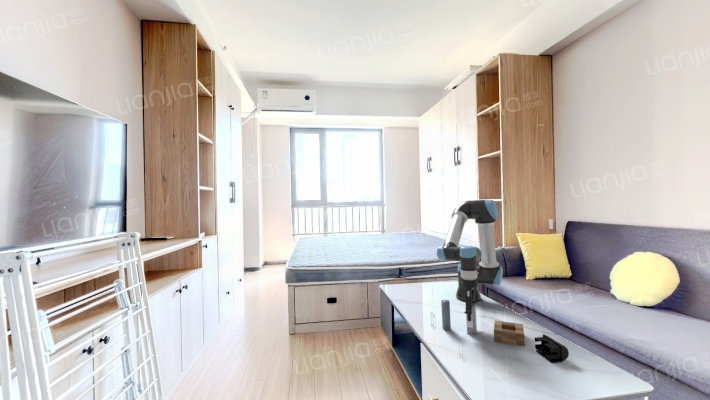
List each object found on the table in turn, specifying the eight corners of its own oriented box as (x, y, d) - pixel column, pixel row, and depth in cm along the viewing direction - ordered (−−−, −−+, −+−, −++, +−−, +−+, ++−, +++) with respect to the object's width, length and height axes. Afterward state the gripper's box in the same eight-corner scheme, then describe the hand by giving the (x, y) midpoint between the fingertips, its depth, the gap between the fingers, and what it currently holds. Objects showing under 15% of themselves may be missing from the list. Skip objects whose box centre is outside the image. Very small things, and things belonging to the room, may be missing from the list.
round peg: (443, 326, 150) (442, 299, 150) (451, 327, 148) (450, 300, 148) (441, 329, 146) (440, 301, 146) (450, 330, 144) (448, 302, 144)
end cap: (569, 362, 113) (568, 345, 113) (552, 364, 112) (551, 346, 112) (550, 349, 123) (549, 333, 123) (534, 351, 122) (533, 335, 122)
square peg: (468, 330, 144) (466, 301, 144) (476, 331, 142) (475, 302, 142) (467, 333, 141) (465, 304, 141) (476, 334, 139) (474, 305, 139)
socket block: (495, 330, 142) (494, 320, 142) (523, 334, 137) (522, 324, 137) (494, 341, 131) (493, 330, 132) (524, 346, 126) (524, 334, 126)
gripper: (475, 285, 129) (477, 333, 129) (479, 272, 151) (481, 313, 151) (457, 284, 132) (459, 330, 132) (464, 271, 155) (466, 311, 154)
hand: (471, 321), depth 141 cm, fingers open, 13 cm apart
